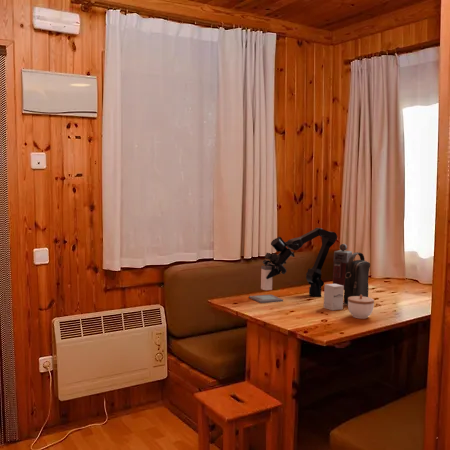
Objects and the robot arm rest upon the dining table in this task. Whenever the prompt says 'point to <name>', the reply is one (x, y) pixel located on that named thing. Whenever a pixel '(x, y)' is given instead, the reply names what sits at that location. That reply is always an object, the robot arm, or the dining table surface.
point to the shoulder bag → (356, 277)
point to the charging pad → (266, 298)
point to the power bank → (266, 283)
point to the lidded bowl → (360, 306)
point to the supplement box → (333, 296)
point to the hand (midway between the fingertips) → (264, 277)
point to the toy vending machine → (340, 264)
